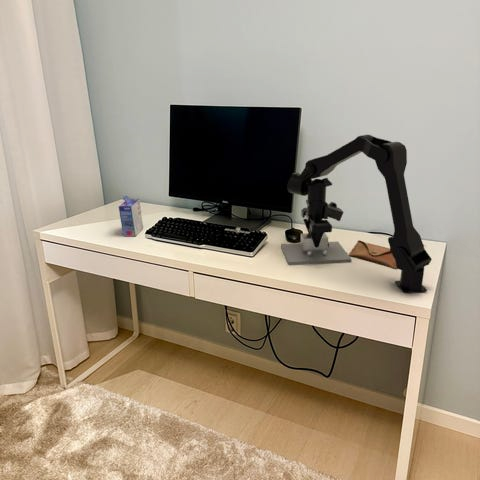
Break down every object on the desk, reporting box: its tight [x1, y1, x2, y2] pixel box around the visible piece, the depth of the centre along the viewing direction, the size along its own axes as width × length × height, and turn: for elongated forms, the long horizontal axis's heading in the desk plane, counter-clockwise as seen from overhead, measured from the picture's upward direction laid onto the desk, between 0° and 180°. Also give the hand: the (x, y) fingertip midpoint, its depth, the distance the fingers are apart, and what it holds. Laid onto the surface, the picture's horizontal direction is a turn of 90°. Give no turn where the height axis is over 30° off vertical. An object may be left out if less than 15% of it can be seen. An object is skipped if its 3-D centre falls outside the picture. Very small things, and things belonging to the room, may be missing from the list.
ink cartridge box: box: [118, 194, 144, 237], centre depth 168 cm, size 10×6×14 cm, turn 174°
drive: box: [300, 232, 329, 250], centre depth 144 cm, size 5×8×4 cm, turn 93°
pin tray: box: [280, 241, 352, 266], centre depth 145 cm, size 16×20×2 cm
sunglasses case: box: [348, 240, 398, 270], centre depth 140 cm, size 18×7×7 cm, turn 48°
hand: (314, 244), depth 144 cm, fingers closed on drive, 5 cm apart
